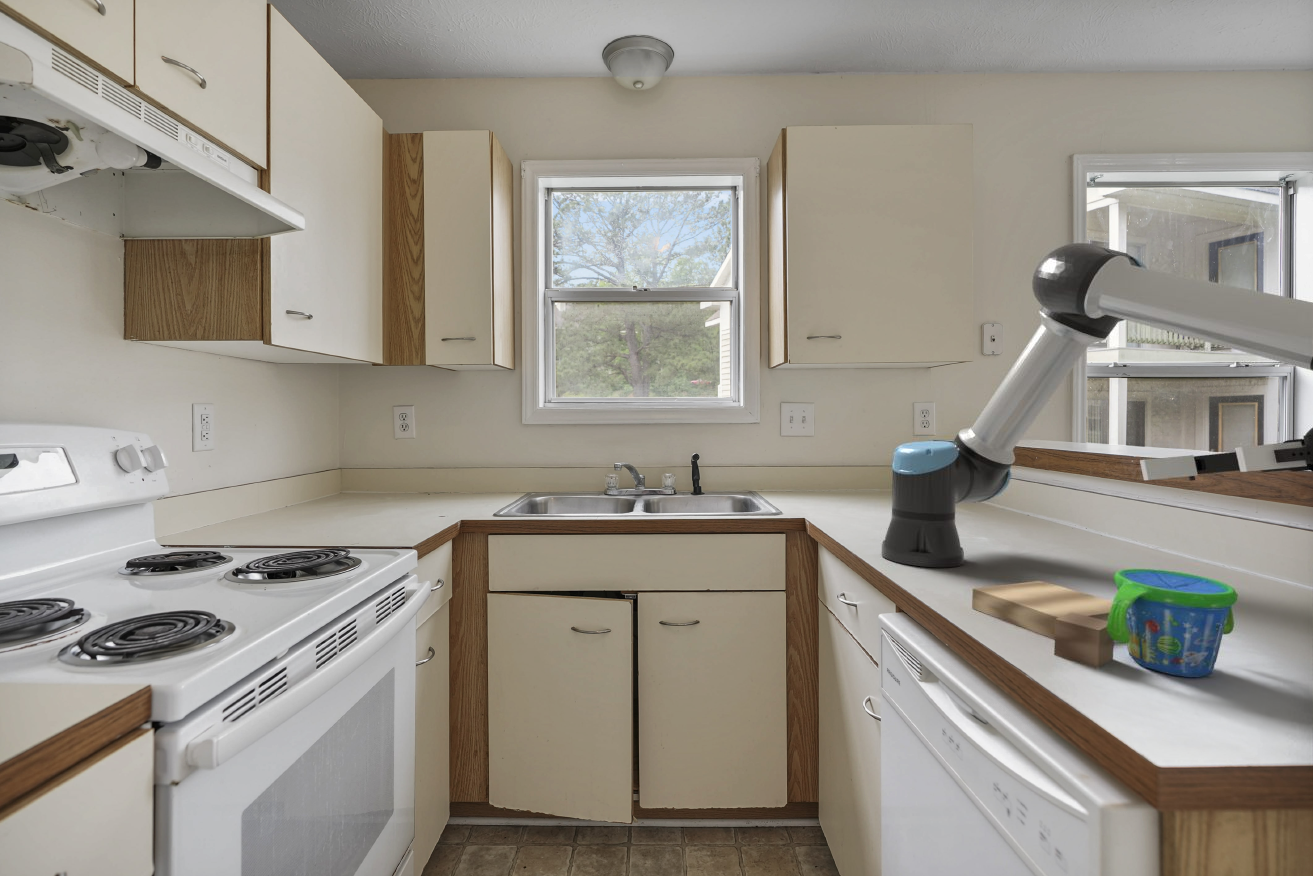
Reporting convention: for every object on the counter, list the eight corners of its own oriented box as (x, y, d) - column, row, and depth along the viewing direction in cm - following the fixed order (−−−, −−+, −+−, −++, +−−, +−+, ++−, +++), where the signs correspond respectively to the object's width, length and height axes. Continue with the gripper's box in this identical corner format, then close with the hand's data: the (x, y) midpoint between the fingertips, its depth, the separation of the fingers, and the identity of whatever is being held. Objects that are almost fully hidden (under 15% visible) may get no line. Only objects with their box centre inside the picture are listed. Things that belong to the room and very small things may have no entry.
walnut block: (1054, 655, 73) (1055, 618, 73) (1070, 647, 75) (1071, 612, 75) (1097, 668, 69) (1099, 630, 69) (1112, 659, 72) (1114, 622, 72)
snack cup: (1148, 689, 64) (1153, 594, 63) (1071, 650, 74) (1074, 568, 74) (1279, 684, 65) (1284, 592, 65) (1185, 646, 76) (1189, 567, 76)
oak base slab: (972, 608, 90) (972, 588, 90) (1039, 599, 95) (1040, 580, 94) (1062, 642, 77) (1063, 619, 77) (1136, 630, 81) (1137, 608, 81)
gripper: (1516, 471, 60) (1303, 490, 60) (1268, 486, 84) (1117, 499, 85) (1495, 397, 61) (1285, 417, 61) (1256, 433, 86) (1107, 447, 86)
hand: (1187, 465), depth 73 cm, fingers open, 13 cm apart
